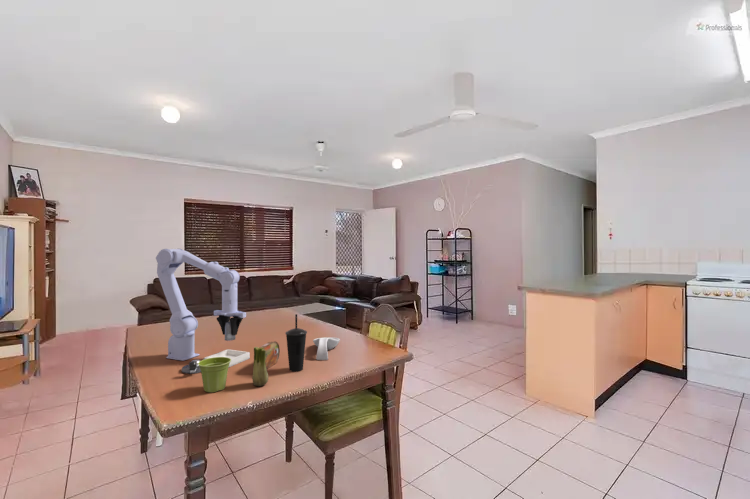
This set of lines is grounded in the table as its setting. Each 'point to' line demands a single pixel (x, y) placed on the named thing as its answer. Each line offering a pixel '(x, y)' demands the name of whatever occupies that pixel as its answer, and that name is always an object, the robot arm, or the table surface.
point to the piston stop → (228, 332)
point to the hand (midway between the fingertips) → (229, 334)
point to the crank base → (187, 371)
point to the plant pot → (214, 373)
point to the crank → (193, 365)
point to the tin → (271, 353)
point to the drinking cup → (296, 347)
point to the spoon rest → (325, 346)
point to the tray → (232, 356)
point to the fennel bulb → (259, 367)
